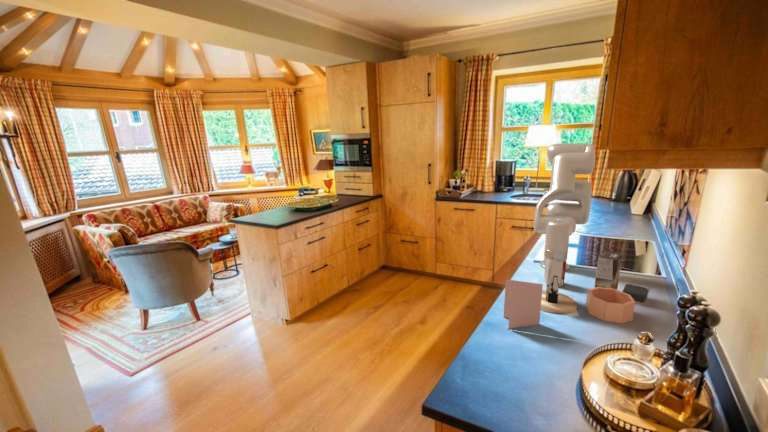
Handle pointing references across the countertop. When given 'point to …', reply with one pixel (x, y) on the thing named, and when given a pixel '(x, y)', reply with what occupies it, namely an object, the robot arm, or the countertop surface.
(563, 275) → the soda can
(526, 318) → the greeting card
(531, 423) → the countertop surface
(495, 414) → the countertop surface
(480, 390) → the countertop surface
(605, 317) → the bowl
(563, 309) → the lid
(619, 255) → the coffee box
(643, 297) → the phone
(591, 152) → the robot arm
